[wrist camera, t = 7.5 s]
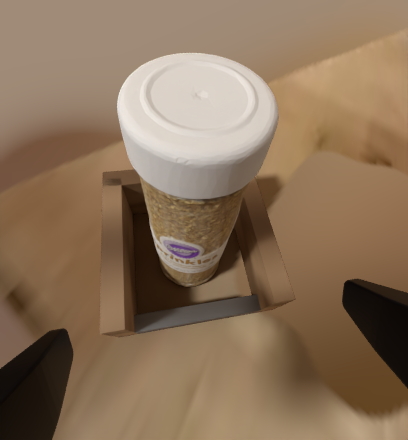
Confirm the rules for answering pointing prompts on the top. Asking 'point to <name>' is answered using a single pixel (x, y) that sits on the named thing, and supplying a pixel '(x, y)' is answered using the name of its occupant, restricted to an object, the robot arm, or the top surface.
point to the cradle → (135, 324)
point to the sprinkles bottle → (195, 152)
